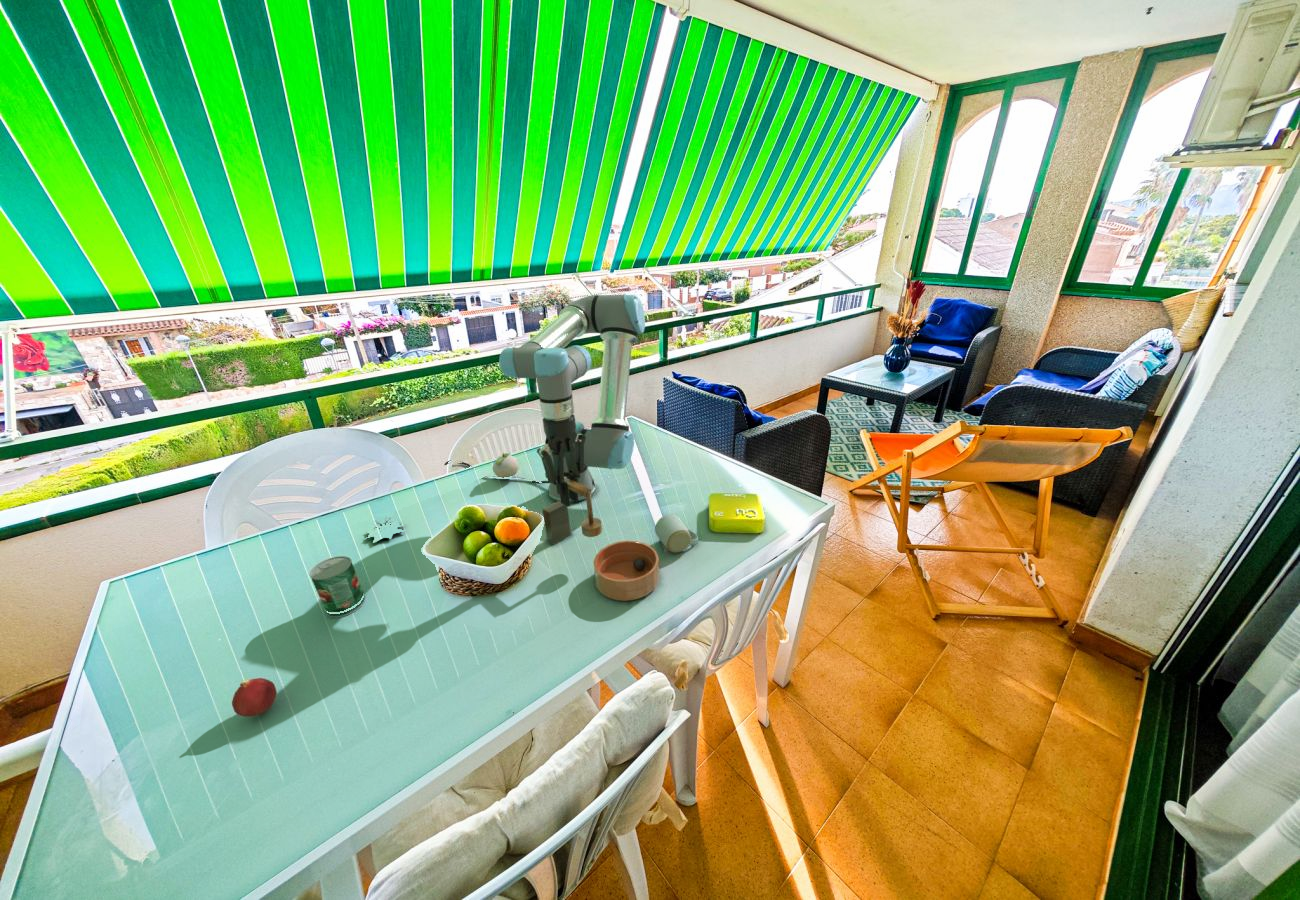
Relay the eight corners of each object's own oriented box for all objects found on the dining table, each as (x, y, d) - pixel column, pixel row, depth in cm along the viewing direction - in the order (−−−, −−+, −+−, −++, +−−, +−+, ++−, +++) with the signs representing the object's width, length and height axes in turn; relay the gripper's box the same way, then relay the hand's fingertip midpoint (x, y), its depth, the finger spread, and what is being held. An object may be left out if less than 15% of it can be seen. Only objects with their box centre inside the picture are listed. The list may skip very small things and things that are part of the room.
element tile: (758, 505, 139) (759, 491, 137) (764, 534, 125) (765, 519, 123) (708, 504, 140) (708, 491, 138) (709, 532, 127) (709, 518, 125)
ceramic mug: (667, 558, 117) (667, 532, 114) (654, 540, 124) (654, 516, 121) (703, 547, 121) (704, 522, 118) (689, 531, 128) (689, 507, 125)
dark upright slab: (547, 540, 126) (542, 508, 122) (564, 531, 130) (560, 499, 126) (553, 545, 124) (548, 512, 120) (571, 535, 128) (567, 503, 124)
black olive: (630, 569, 113) (630, 559, 111) (639, 563, 115) (638, 554, 113) (639, 575, 111) (639, 565, 110) (648, 568, 113) (647, 559, 112)
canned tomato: (373, 597, 108) (359, 559, 103) (343, 621, 101) (327, 581, 97) (348, 590, 110) (334, 553, 106) (317, 613, 104) (300, 574, 99)
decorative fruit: (516, 485, 157) (511, 459, 152) (492, 486, 157) (487, 459, 153) (523, 472, 165) (519, 447, 161) (501, 473, 165) (496, 448, 161)
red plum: (257, 698, 84) (239, 667, 81) (290, 695, 85) (273, 664, 81) (234, 729, 79) (214, 697, 76) (269, 725, 79) (250, 693, 76)
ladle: (546, 513, 123) (540, 474, 118) (561, 505, 126) (555, 467, 121) (591, 539, 111) (586, 498, 106) (606, 530, 115) (602, 489, 110)
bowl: (582, 582, 110) (580, 562, 108) (627, 552, 120) (626, 533, 118) (627, 612, 100) (625, 591, 98) (672, 577, 110) (671, 557, 108)
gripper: (541, 429, 100) (554, 519, 110) (593, 410, 110) (601, 494, 120) (521, 421, 105) (536, 509, 115) (573, 404, 115) (583, 486, 125)
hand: (569, 501), depth 117 cm, fingers closed on ladle, 2 cm apart
